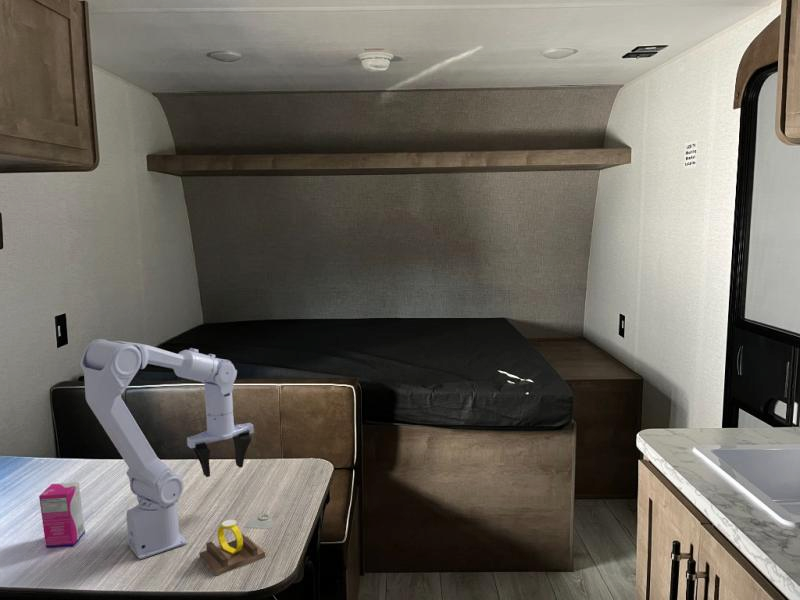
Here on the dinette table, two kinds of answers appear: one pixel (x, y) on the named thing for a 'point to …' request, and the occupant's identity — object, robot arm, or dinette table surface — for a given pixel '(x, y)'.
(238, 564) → the rack
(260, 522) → the mounting bracket
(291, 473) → the dinette table surface
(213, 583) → the dinette table surface
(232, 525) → the watch
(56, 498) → the supplement box
